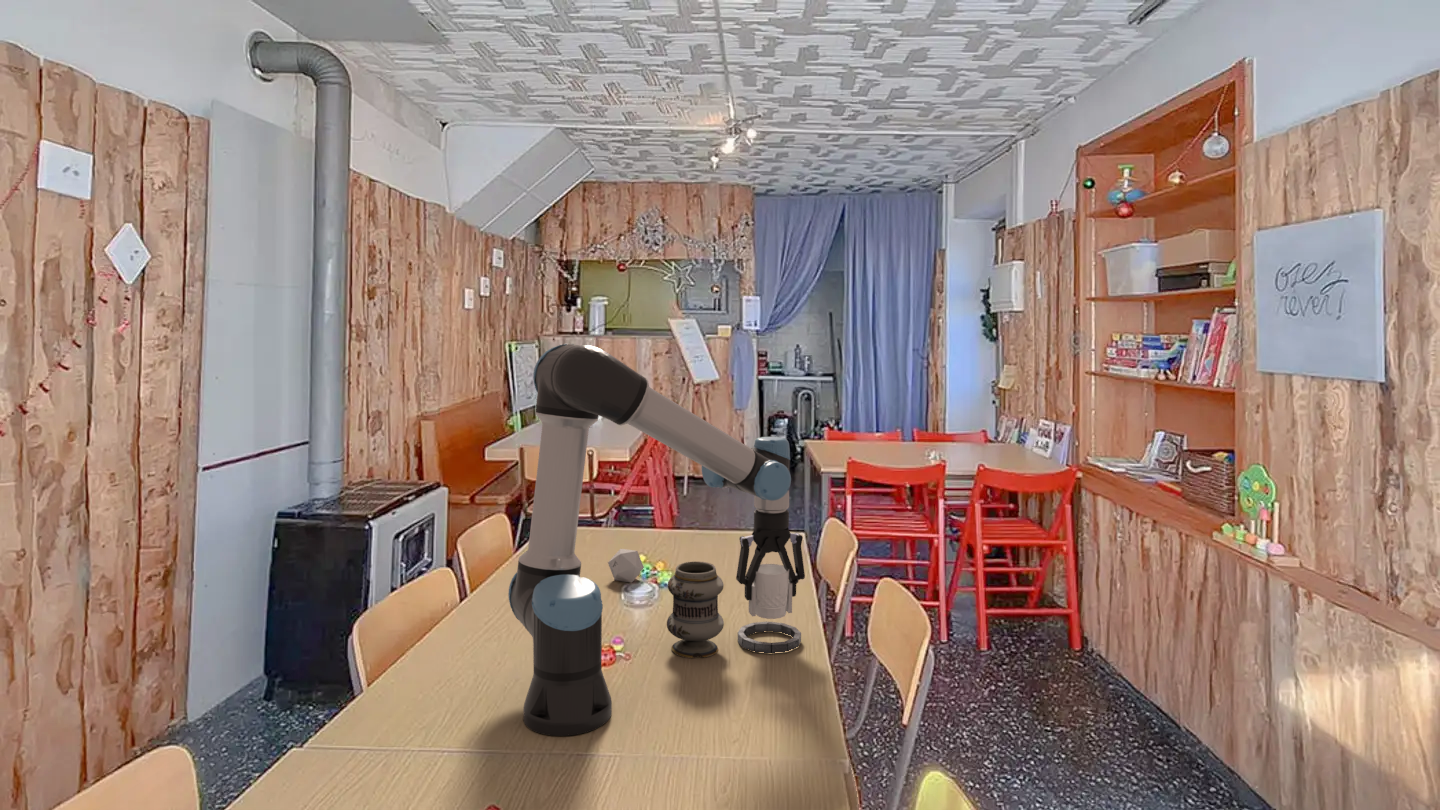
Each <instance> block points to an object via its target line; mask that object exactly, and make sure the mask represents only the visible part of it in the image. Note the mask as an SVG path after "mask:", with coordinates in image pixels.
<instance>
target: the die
mask: <svg viewBox="0 0 1440 810" xmlns="http://www.w3.org/2000/svg"><path fill="white" fill-rule="evenodd" d="M607 564H608V567H609V569H610V571H611V574H612V577H613V580H614V581H619V582H624V583H631V582H632V583H633V582H634V581H635V580H636V578H638V576H639V575H640V574H641V573H640V571H641V570H642V569H643V568H644V569H645V567H644V564H643V562H642V559H641V557H640V553H639V552H638V550H632V549H625V548H619V550H617V552H616V553H614V555H613V556H612V557H611V559H609V561H607ZM644 569H643V570H644ZM643 570H642V571H643Z"/></svg>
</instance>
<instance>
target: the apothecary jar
mask: <svg viewBox="0 0 1440 810" xmlns="http://www.w3.org/2000/svg"><path fill="white" fill-rule="evenodd" d="M724 585H725V584H724V581H723V579H722V578H721V577H720V576H719V575H718V573H717V568H716V566H715V565H714V564H713V563H711V562H706V561H694V560H693V561H686V562H681V563H680V564H677V566H676V567H675V572H674V575H672V576H671V577H670V578H669V580H668V582H667V590H668V591H669V593H670V594H671V595H672V596H673V597H672V598H673V599H672V600H673V601H672V613H671V614H670V615H668V618H667V620H666V627H667V630H668V632H669V633H670V634H671V635H673V636H674V637H676V638H677V639H680V640H678V641H676V642H674V643H673V644H672V646H671V651H672V653H673V654H675V655H677V656H679V657H682V658H687V659H696V658H701V659H703V658H710V657H712V656H714V655H715V654H717V652H718V651H719V648H718V645H717V644H716V643H715V642H713V641H711V639H714V638H716V636H718V635H719V634H720V633H721V632H722V631H723V629H724V626H725V622H724V618H723V616H722V615H721V614H720V613H719V602H718V601H719V600H718V599H719V598H718V597H719V595H720V594H721V593H722V591H724Z"/></svg>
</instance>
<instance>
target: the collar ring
mask: <svg viewBox="0 0 1440 810" xmlns="http://www.w3.org/2000/svg"><path fill="white" fill-rule="evenodd" d="M764 631H773V632H782V633H785V634H788V635H791V636H792V637H793V638H790V639H788V640H787V639H786V640H784V641H777V642H776V641H775V642H767V641H758V640H755V639H752V638H750V637H749V636H751V635H750V634H752V635H754V634H756V633H755V632H763V633H765V632H764ZM753 633H754V634H753ZM748 635H749V636H748ZM800 642H801V643H802V632H801V631H800V630H799V629H797V627H796V626H794V625H789V624H788V623H783V622H778V621H777V622H776V621H759V622H758V621H757V622H751V623H748V624H745V625H742V626H741V627H740V628H739V629H738V632H737V643H738V644H739V645H740V646H741V648H742V649H745V648H746V649H745V650H747V649H749V650H748V651H750V650H751V651H750V652H752V651H755V652H764V653H775V652H785V651H789V650H791V649H794V648H796V647H798V646H799V644H800V645H801V643H800ZM799 647H800V646H799ZM755 652H754V653H755ZM764 653H763V654H764Z"/></svg>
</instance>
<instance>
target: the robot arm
mask: <svg viewBox="0 0 1440 810" xmlns="http://www.w3.org/2000/svg"><path fill="white" fill-rule="evenodd" d="M532 379H533V385H534V389H535V391H536V392H537V394H536V395H537V396H536V403H535V404H536V405H535V406H536V407H535V412H534V413H535V415H536V416H537V417H538V419H539V420H540V421H541V423H542V424H541V433H540V434H541V435H540V443H539V451H538V459H537V467H536V468H537V469H536V477H535V478H536V479H535V485H534V486H535V487H534V494H533V505H532V511H531V521H530V528H529V529H530V530H529V531H530V532H529V538H528V548H527V550H526V551H525V552H523V553H522V554H521V555H520V556H519V557H518V561H517V562H518V563H517V571H516V572H515V573H514V575H513V576H512V578H511V581H510V583H509V587H508V593H507V594H508V595H507V596H508V602H509V605H510V609H511V611H512V613H513V615H514V616H515V618H516V619H517V620H518V621H519V622H520V624H521V625H522V626H523V627H524V629H526V631H527V632H528V633H529V635H530V636H531V637H532V642H533V644H532V646H533V647H532V650H533V651H532V652H533V655H532V656H533V658H532V659H533V663H532V664H533V673H532V674H533V676H532V678H531V681H530V685H529V688H528V692H527V694H526V697H525V701H524V702H523V703H524V704H523V709H522V710H523V711H522V712H523V723H524V725H525V726H526V727H527V728H528V729H529V730H531V731H533V732H536V733H538V734H540V735H541V734H542V735H547V736H554V737H565V736H568V737H569V736H574V735H575V736H576V735H581V734H584V733H588V732H591V731H594V730H596V729H598V728H600V727H602V726H603V725H605V724H606V723H607V722H608V721H609V719H611V716H612V709H613V708H612V697H611V693H610V691H609V687H608V685H607V682H606V679H605V676H604V673H603V671H602V668H603V667H602V648H603V647H602V646H603V645H602V644H603V643H602V642H603V641H602V637H603V636H602V635H603V633H602V632H603V631H602V630H603V629H602V627H603V625H602V624H603V622H602V621H603V619H602V616H603V615H602V613H603V607H604V605H603V600H602V593H601V588H600V587H599V586H598V584H597V583H596V582H595V581H594V580H592V579H590V578H587V577H585V576H584V577H581V568H582V561H581V560H580V558H579V557H578V556H577V554H576V553H575V550H576V541H577V534H578V533H577V532H578V525H579V517H580V516H579V515H580V509H581V508H580V507H581V498H582V490H583V480H584V472H585V464H586V456H587V455H586V454H587V447H588V446H587V445H588V439H589V438H588V437H589V432H590V431H589V429H590V428H591V426H593V425H594V424H595V423H596V422H598V421H599V416H600V418H601V417H602V418H604V419H607V420H608V421H611V422H612V423H614V424H616V425H618V426H624V425H626V424H628V425H630V427H633V428H635V429H636V430H638V431H640V432H641V433H643V434H645V435H646V436H649V437H651V438H652V439H654V440H656V441H658V442H660V443H661V444H663V445H665V446H667V447H669V448H670V449H671V450H674V451H675V452H677V453H679V454H681V455H683V457H686V458H687V459H689V460H692V461H693V462H695V463H697V464H698V465H701V475H702V479H703V481H704V483H705V485H707V486H708V487H709V488H719V489H722V488H726V487H727V488H728V487H729V488H732V489H735V490H738V491H740V492H745V493H748V494H750V495H753V497H754V499H753V501H754V502H753V503H754V504H753V505H754V508H755V509H754V511H753V530H752V533H751V535H746V536H743V535H741V536H739V544H740V549H739V550H740V551H739V557H738V563H737V569H736V576H735V579H736V581H737V582H738V583H739V584H740V585H743V586H744V598H745V599H746V601H748V613H749V615H750V616H751V617H756V616H757V615H756V586H755V585H754V584H753V582H754V579H755V577H756V572H758V569H759V567H760V565H761V564H762V562H763V559H764V558H765V556H766V554H769V553H778V556H779V558H780V561H781V563H782V565H783V566H784V568H785V569H786V571H788V569H789V584H788V598H787V603H786V604H787V606H786V613H788V614H792V613H793V597H796V595H797V584H798V583H799V581H800V580H804V579H805V578H806V575H805V566H804V559H803V552H802V542H803V536H802V535H801V534H800V533H798V532H794V533H792V532H791V531H790V529H789V526H790V511H789V510H788V509H789V508H790V487H791V483H792V482H791V481H792V477H791V472H790V469H791V449H790V443H789V441H788V439H786V438H785V437H781V436H780V437H779V436H761V437H757V438H755V440H754V445H753V447H750V446H748V445H747V444H744V443H743V442H741V441H740V440H738V439H736V438H734V436H732V435H730V434H728V433H726V432H725V431H723V430H722V429H721V428H718V427H716V426H715V425H713V424H712V423H709V422H708V421H706V420H705V419H703V418H701V417H700V416H699V415H697V414H695V413H693V412H691V411H690V410H689V409H687V408H686V407H684V406H681V405H680V404H679V403H677V402H675V401H673V400H672V399H670V398H668V397H666V396H665V395H663V394H662V393H660V392H658V391H657V390H655V389H654V388H653V387H650V384H649V380H648V379H647V378H646V377H645V376H643V375H642V374H640V373H638V372H637V371H635V370H634V369H633V368H631V367H629V366H628V365H627V364H625V363H624V362H622V361H621V360H619V359H617V358H616V357H615V356H613V355H612V354H610V353H609V352H607V351H606V350H604V349H601V348H600V347H597V346H594V345H589V344H587V345H585V344H583V345H582V344H581V345H580V344H574V343H563V344H559V345H556V346H553V347H552V348H549V349H548V350H546V351H545V352H543V353H542V355H541V356H539V358H538V360H537V361H536V363H535V365H534V369H533V375H532ZM789 541H790V542H791V547H792V553H793V561H794V562H793V563H794V567H793V565H792V563H791V560H790V558H789V554H788V551H787V548H786V545H787V544H788V542H789ZM753 542H754V544H755V545H756V547H755V550H754V554H753V557H752V560H751V562H750V564H749V566H748V561H749V557H750V547H751V546H752V543H753ZM747 568H748V569H747ZM794 569H795V570H794Z"/></svg>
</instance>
